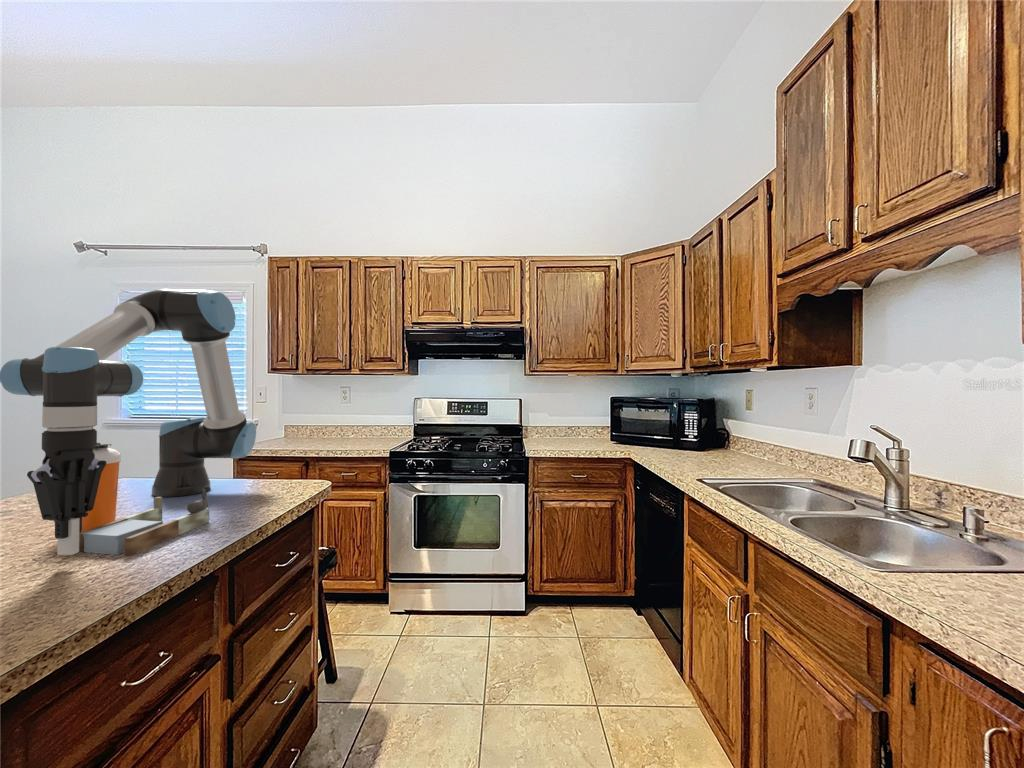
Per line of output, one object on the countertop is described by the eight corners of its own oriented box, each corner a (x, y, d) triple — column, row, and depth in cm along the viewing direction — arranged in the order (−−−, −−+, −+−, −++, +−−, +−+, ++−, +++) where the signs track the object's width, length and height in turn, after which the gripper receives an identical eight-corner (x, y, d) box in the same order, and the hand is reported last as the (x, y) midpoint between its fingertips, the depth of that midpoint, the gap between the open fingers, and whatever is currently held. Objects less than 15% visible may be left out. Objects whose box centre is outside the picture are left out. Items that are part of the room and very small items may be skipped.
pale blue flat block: (131, 537, 104) (131, 519, 104) (162, 539, 103) (162, 521, 103) (83, 553, 94) (83, 533, 94) (117, 555, 93) (117, 535, 93)
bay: (159, 519, 116) (159, 484, 116) (213, 521, 116) (213, 485, 116) (66, 553, 93) (67, 509, 93) (133, 555, 92) (134, 511, 92)
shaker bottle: (89, 535, 104) (90, 447, 104) (59, 532, 106) (60, 445, 106) (129, 523, 113) (130, 442, 113) (100, 520, 115) (101, 441, 115)
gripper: (84, 425, 93) (82, 541, 93) (12, 431, 80) (10, 566, 80) (120, 426, 93) (118, 542, 93) (53, 432, 80) (51, 567, 80)
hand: (68, 553), depth 87 cm, fingers closed
